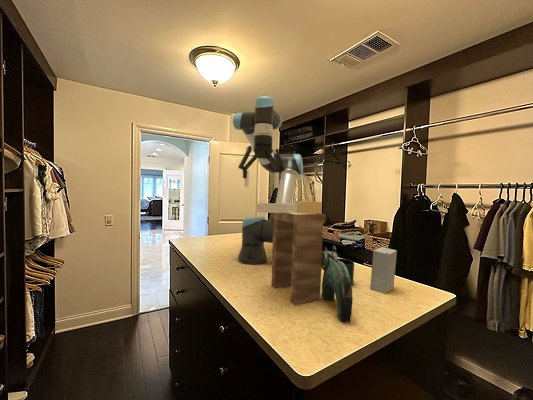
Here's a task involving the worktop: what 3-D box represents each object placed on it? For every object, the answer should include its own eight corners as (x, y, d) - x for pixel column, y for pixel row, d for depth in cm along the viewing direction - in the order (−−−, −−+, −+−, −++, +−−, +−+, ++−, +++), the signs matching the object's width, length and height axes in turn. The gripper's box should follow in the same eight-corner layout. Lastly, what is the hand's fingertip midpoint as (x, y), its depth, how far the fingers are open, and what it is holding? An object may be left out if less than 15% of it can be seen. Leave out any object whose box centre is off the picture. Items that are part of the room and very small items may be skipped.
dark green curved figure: (317, 295, 92) (319, 240, 91) (334, 295, 93) (337, 241, 92) (336, 324, 72) (339, 254, 72) (358, 323, 73) (361, 255, 72)
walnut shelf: (269, 286, 99) (271, 209, 98) (295, 282, 104) (297, 209, 103) (292, 306, 83) (295, 214, 82) (322, 300, 88) (325, 213, 87)
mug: (321, 282, 105) (321, 261, 105) (338, 277, 112) (339, 257, 112) (340, 290, 97) (341, 267, 97) (357, 283, 105) (358, 262, 104)
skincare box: (377, 284, 105) (379, 246, 105) (396, 289, 100) (398, 249, 100) (369, 289, 99) (370, 249, 99) (388, 294, 94) (390, 252, 94)
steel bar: (255, 211, 88) (256, 199, 88) (315, 212, 92) (316, 201, 92) (258, 212, 83) (258, 200, 83) (321, 213, 87) (321, 202, 87)
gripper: (237, 130, 96) (236, 186, 97) (294, 137, 107) (292, 188, 108) (231, 134, 103) (230, 186, 104) (285, 140, 114) (283, 188, 114)
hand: (261, 187), depth 106 cm, fingers open, 13 cm apart
